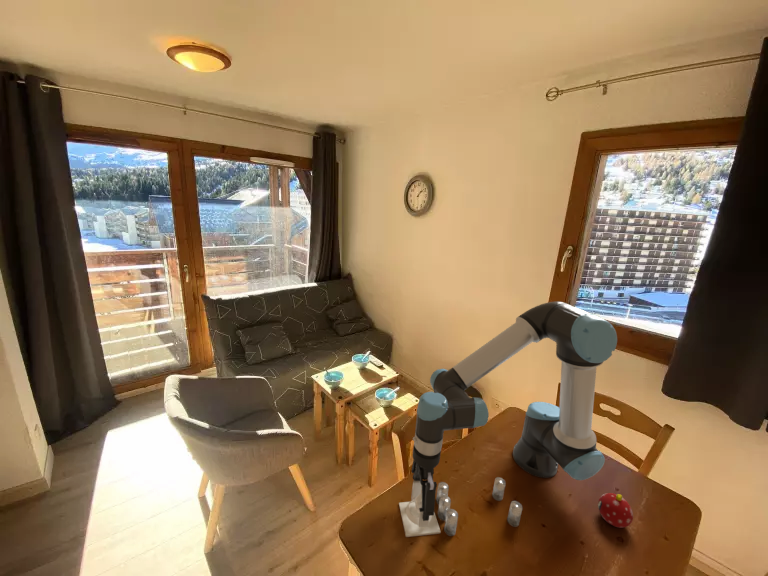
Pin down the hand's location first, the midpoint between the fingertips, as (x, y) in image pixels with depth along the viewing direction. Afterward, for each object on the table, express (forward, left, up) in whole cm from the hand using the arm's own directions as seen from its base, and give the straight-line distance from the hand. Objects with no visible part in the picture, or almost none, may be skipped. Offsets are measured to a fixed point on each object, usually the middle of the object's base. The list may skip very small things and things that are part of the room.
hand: (419, 511), depth 93 cm
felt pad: (0, 0, -3) cm, 3 cm away
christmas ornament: (-59, +7, -3) cm, 60 cm away
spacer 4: (-28, -5, -3) cm, 28 cm away
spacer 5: (-28, +4, -3) cm, 28 cm away
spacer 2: (-8, 0, -3) cm, 8 cm away
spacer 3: (-8, +4, -3) cm, 10 cm away
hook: (0, 0, -1) cm, 1 cm away
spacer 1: (-9, -5, -3) cm, 10 cm away
